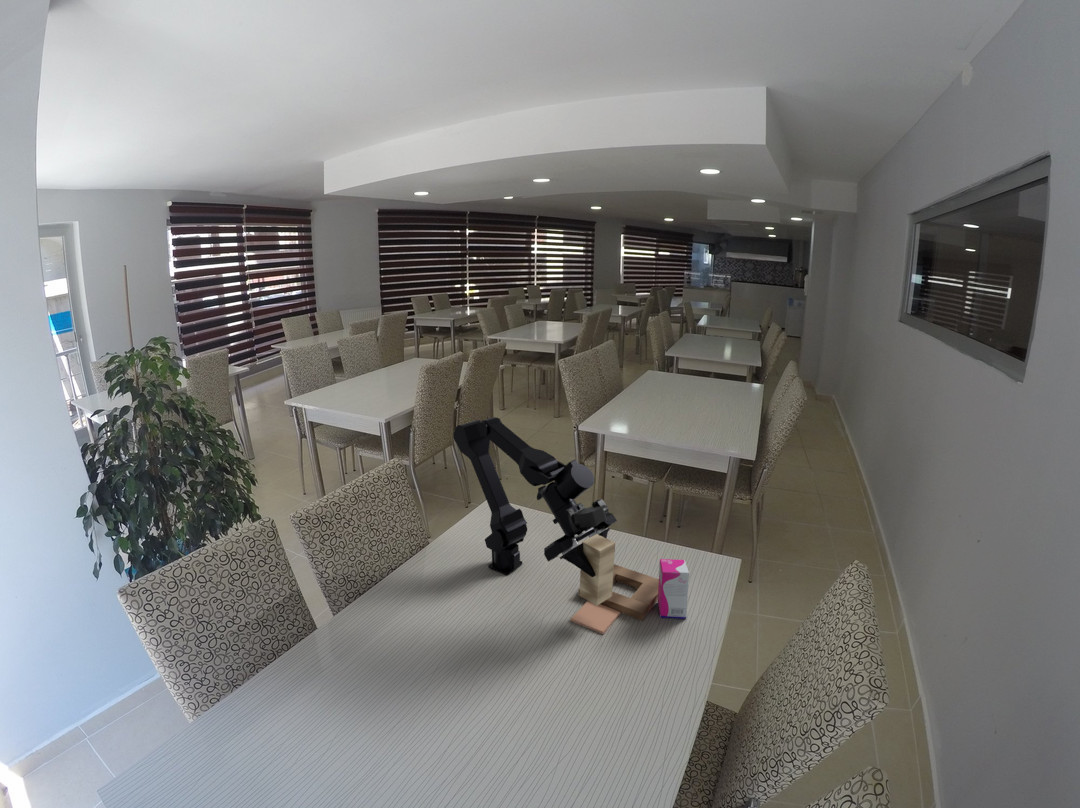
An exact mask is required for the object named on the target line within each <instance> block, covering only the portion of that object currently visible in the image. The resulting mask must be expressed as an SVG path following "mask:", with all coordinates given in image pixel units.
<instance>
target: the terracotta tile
mask: <svg viewBox="0 0 1080 808" xmlns="http://www.w3.org/2000/svg"><path fill="white" fill-rule="evenodd" d="M620 615H621V613H620V612H619V611H617V610H614V609H611V608H609V607H606V606H604V605H601V604H599V605H595V604H593V603H591V602H590V601H588V600H586V602H585V603H584V604H583V605H582V606H581V607H580V609H578V610H577V611H576V612H575V614H574V615H573V616H572V617H571V618H570V621H571V622H573V623H575V624H577V625H580V626H582V627H584V628H587V629H590V630H592V631H595V632H597V633H599V634H602V635H604V634H605V633H606V632H607V631H608V630H609V628H610V627H611V626H612V625H613V624H614V623H615V621H616V620H617V619H618V618H619V616H620Z"/></svg>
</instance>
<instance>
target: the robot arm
mask: <svg viewBox="0 0 1080 808" xmlns="http://www.w3.org/2000/svg"><path fill="white" fill-rule="evenodd" d="M452 437H453V440H454V442H455V444H456V446H457V447H458V449H459V451H460V453H462V454H463V455H465V457H466V458H468V459H469V460H470V462H471V465H472V467H473V470H474V472H475V474H476V477H477V480H478V482H479V485H480V487H481V489H482V492H483V495H484V497H485V500H486V503H487V504H488V507H489V510H490V513H491V515H490V521H489V527H490V531H491V533H490V534H489V535H488V536H487V537H486V538H484V541H485V542H484V543H485V546H486V547H485V548H487V549H489V550H491V563H489V564H488V567H487V568H488V569H491V570H493V571H496V572H498V573H501V574H503V575H506V576H509V575H511V574H512V573H513V572H514V571H516V569H518V568H519V567H520V566H522V565H523V561H522V560H521V552H520V549H519V543H522V542H524V540H525V537H526V535H527V532H528V525H527V524H528V522H527V520H526V519H525V517H524V514H523V511H522V510H521V508H515V507H513V506H512V505H511V504H510V501H509V499H508V497H507V494H506V490H505V489H504V486H503V484H502V481H501V479H500V477H499V474H498V471H497V469H496V467H495V464H494V462H493V459H492V457H491V454H490V451H489V450H490V445H491V442H492V443H493V444H494V445H495V446H496V447H497V448H499V449H500V450H501V451H502V452H503V453H504V454H506V455H507V456H508V457H509V458H510V459H511V460H513V461H514V463H516V464H517V466H518V469H519V473H520V474H521V476H522V477H523V478H524V479H525V481H526V482H528V483H529V484H530V485H531V486H533V487H538V486H539V487H538V488H537V490H538V491H537V494H536V500H537V501H540V500H542V499H544V501H545V503H546V504H547V507H548V508H549V510H550V512H551V513H552V515H553V516H554V519H552V522H553V524H554V525H556V524H558V525H559V527H560V528H561V530H562V532H563V534H564V535H562V536H561V537H559V538H557V539H555V540H554V541H552V542H551V543H549V544H547V546H546V547H544V548H543V549H544V551H543V552H544V553H543V555H544V557H545V559H546V560H547V562H548V563H549V562H550V561H552V560H554V559H555V558H558V557H559V555H561V556H560V557H559V559H560V560H563V559H564V560H565V561H566V562H568V563H570V564H572V565H574V566H576V567H577V568H578V569H579V570H580V571H581V570H582V571H584V572H585V573H587V574H588V575H589V576H591V577H594V576H595V575H596V574H595V572H594V570H593V568H592V566H591V564H590V562H589V561H588V559H587V557H586V555H585V554H584V551H583V543H582V542H581V543H580V544H579V543H578V542H580V541H582V540H583V539H586V538H587V537H588V539H589V538H590V537H592V536H594V535H596V534H598V535H600V536H602V537H604V538H606V539H608V538H607V537H608V533H609V531H610V530H611V529H610V527H611V526H612V525H614V524H615V523H617V522H618V520H617V519H616V516H614V514H613V513H612V512H609V508H608V506H607V504H606V502H605V501H604V500H603V499H602V498H601V499H597V500H595V501H593V502H592V505H591V506H589V507H585V505H584V504H583V503H582V502H579V503H578V502H577V501H576V500H575V499H577V498H579V497H580V496H582V495H583V494H584V493H585V492H586V491H588V489H590V488H591V487H592V486H593V485H594V484H595V483H594V482H595V477H594V473H593V471H592V470H591V469H590V468H589V467H587V466H586V465H584V464H581V463H579V462H578V460H577V459H574V460H571V461H568V463H566V464H564V463H562V462H560V461H559V460H558V459H557V458H555V457H554V456H553V455H552V454H550V453H548V452H547V451H544V450H542V449H537V448H534V447H532V446H530V445H529V444H528V443H527V442H525V441H524V439H522V438H520V437H519V436H518V435H517V434H516V433H515V432H513V431H512V430H511V429H510V428H509V427H507V426H506V425H505V424H504V423H503V422H502V420H501V419H500V418H499V417H495V416H493V417H490V418H486V419H482V420H480V419H476V420H472V421H469V422H465V423H462V424H459V425H456V427H455V428H454V431H453V435H452Z"/></svg>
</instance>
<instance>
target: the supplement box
mask: <svg viewBox="0 0 1080 808" xmlns="http://www.w3.org/2000/svg"><path fill="white" fill-rule="evenodd" d="M658 567H659V570H658V579H659V586H658V601H657V607H658V612H659V613H658V614H659V618H661V619H678V620H687V613H688V611H687V610H688V600H689V599H688V598H689V597H688V594H689V582H690V581H689V580H690V571H689V568H688V566H687V562H686V560H685V559H668V558H667V559H666V558H660V559H659V566H658Z"/></svg>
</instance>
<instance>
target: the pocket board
mask: <svg viewBox="0 0 1080 808" xmlns="http://www.w3.org/2000/svg"><path fill="white" fill-rule="evenodd" d="M616 582H617V583H621V584H624V585H627V586H629V587H632V588H634V589H635V588H636V589H637V590H636V591H635V592H634V593H633V594H632V596H631V597H629V596H626V595H624V594H620V593H618V592H615V591H612V596H611V597H610V598H608V599H607V600H605V601H604V602H602V603H601V605H604V606H606V607H609V608H611V609H614V610H617V611H619V612H620V614H622V615H626V616H628V617H631V618H633V619H636V620H639V621H640V622H643V620H644V619H645V618H646V617H647V615H648V614H649V613H650V611H651V610H652V609H653V607H654V606H655V604H656V603H658V586H659V578H656V577H653V576H650V575H648V574H644V573H642V572H638V571H636V570H632V569H629V568H627V567H623V566H622V565H618V564H615V563H614V570H613V585H614V584H615V583H616ZM577 590H578V595H577V596H578V598H581V599H584V600H586V599H585V598H583V597H581V596H579V592H580V587H579V588H578V589H577Z"/></svg>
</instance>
